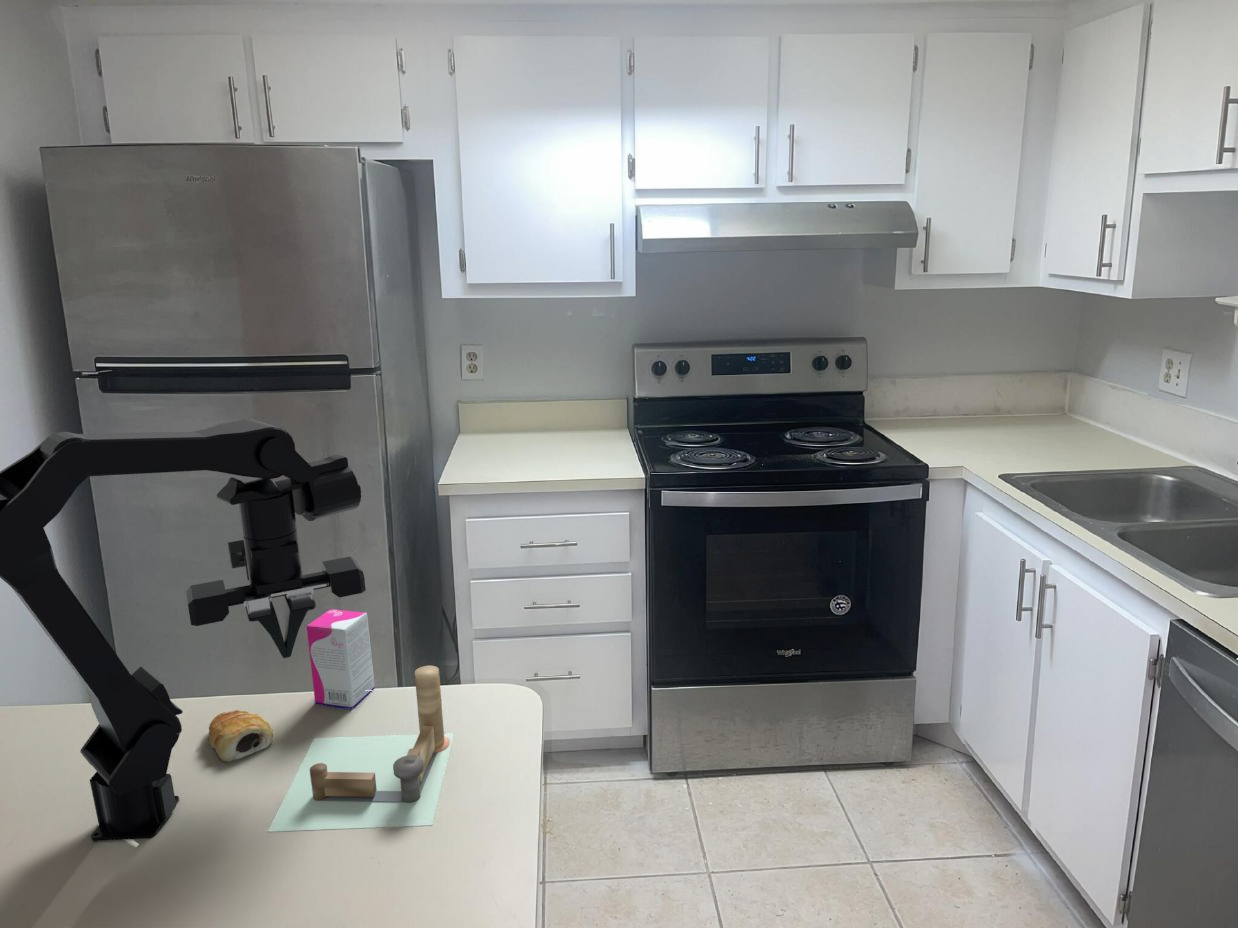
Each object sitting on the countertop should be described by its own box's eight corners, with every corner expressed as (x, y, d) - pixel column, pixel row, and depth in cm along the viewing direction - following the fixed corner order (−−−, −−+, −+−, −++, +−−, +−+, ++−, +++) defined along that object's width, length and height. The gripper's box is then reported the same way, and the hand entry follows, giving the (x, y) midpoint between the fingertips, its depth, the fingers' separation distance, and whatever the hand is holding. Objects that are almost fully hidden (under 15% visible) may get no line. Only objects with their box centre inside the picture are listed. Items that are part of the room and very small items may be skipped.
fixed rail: (422, 791, 98) (420, 763, 97) (417, 802, 96) (415, 775, 96) (316, 789, 99) (313, 762, 98) (310, 801, 97) (306, 773, 96)
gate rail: (421, 804, 96) (415, 726, 93) (392, 803, 96) (384, 726, 93) (448, 735, 108) (443, 665, 106) (422, 735, 108) (416, 665, 106)
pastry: (197, 736, 110) (192, 709, 109) (251, 716, 115) (248, 689, 114) (224, 769, 104) (220, 740, 103) (281, 746, 108) (278, 718, 107)
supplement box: (376, 688, 120) (368, 611, 117) (352, 711, 115) (343, 631, 112) (338, 683, 122) (330, 606, 119) (313, 705, 116) (303, 626, 113)
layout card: (267, 833, 92) (267, 830, 92) (314, 740, 109) (314, 737, 109) (432, 827, 93) (432, 823, 93) (454, 735, 109) (454, 732, 109)
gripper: (341, 499, 111) (353, 613, 115) (176, 524, 103) (195, 646, 107) (360, 525, 102) (372, 648, 106) (179, 555, 93) (201, 688, 98)
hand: (286, 656), depth 104 cm, fingers closed
